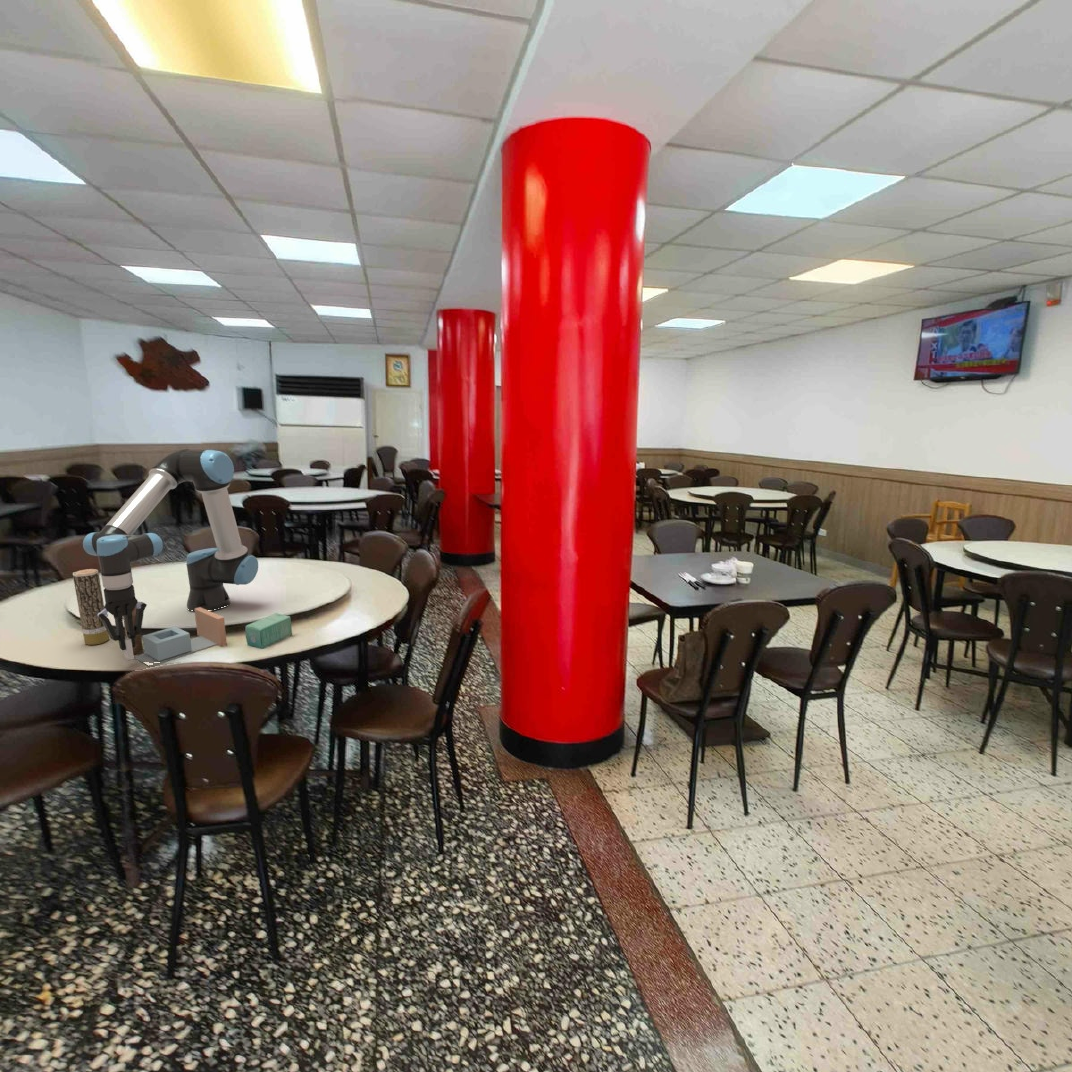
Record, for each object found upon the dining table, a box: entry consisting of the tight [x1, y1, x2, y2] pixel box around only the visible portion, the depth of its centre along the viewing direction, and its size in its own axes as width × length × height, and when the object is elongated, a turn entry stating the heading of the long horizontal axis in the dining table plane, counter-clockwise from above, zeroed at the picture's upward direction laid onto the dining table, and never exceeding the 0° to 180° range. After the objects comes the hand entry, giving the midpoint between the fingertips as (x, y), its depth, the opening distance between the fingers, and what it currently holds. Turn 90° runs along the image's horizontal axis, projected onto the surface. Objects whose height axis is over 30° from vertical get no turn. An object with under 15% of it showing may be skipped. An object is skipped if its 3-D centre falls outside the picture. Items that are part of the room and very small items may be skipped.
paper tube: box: [72, 568, 110, 646], centre depth 196 cm, size 7×7×25 cm
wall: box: [194, 607, 228, 648], centre depth 201 cm, size 2×16×10 cm, turn 55°
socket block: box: [141, 625, 192, 661], centre depth 190 cm, size 10×10×6 cm
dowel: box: [123, 606, 144, 657], centre depth 189 cm, size 4×4×18 cm
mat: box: [134, 636, 218, 668], centre depth 193 cm, size 23×11×1 cm, turn 145°
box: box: [244, 612, 293, 649], centre depth 202 cm, size 7×14×8 cm, turn 157°
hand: (129, 658), depth 181 cm, fingers closed
